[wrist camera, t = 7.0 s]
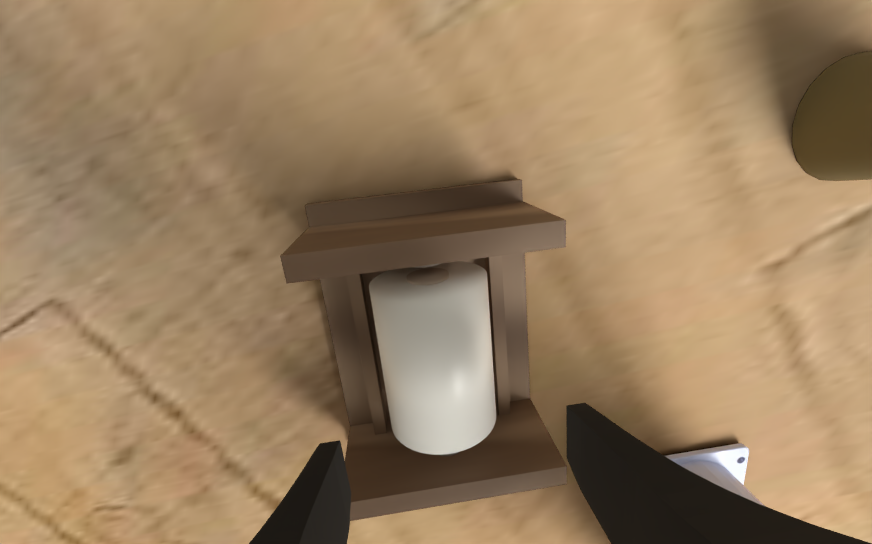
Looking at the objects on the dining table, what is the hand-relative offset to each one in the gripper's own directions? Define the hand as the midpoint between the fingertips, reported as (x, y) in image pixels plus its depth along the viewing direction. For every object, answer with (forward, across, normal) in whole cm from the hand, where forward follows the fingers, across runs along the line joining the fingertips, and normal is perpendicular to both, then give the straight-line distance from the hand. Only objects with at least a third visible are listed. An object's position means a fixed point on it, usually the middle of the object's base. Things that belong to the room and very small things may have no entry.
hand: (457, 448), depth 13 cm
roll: (+8, 0, 0) cm, 8 cm away
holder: (+9, 0, 0) cm, 9 cm away
